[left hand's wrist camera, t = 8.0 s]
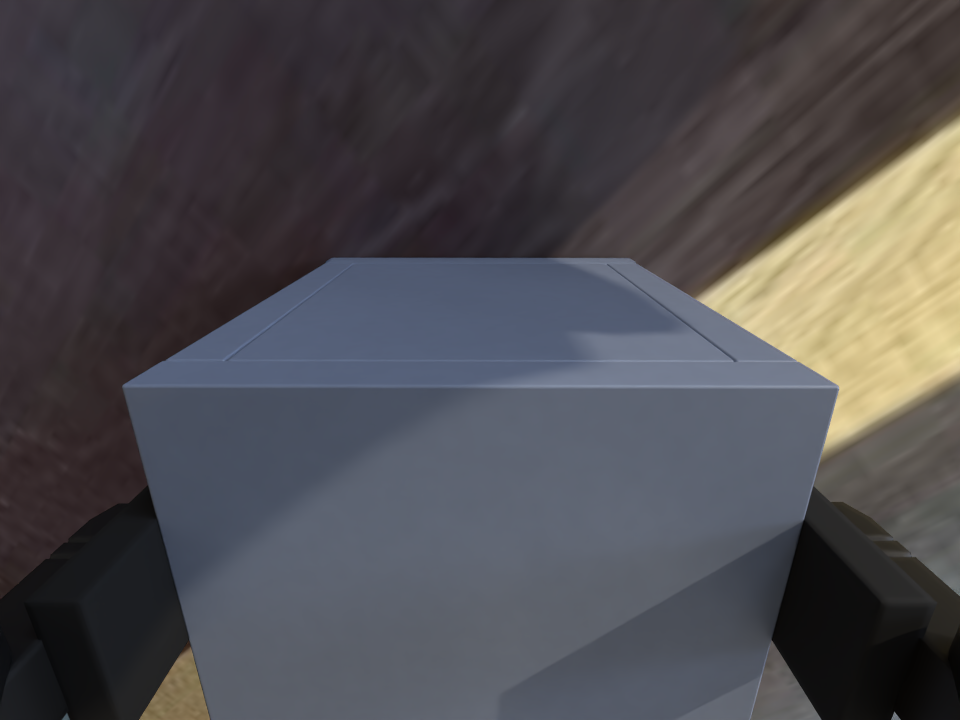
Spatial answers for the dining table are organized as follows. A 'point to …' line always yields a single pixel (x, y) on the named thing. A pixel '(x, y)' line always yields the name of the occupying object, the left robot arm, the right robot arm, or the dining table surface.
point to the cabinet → (480, 494)
